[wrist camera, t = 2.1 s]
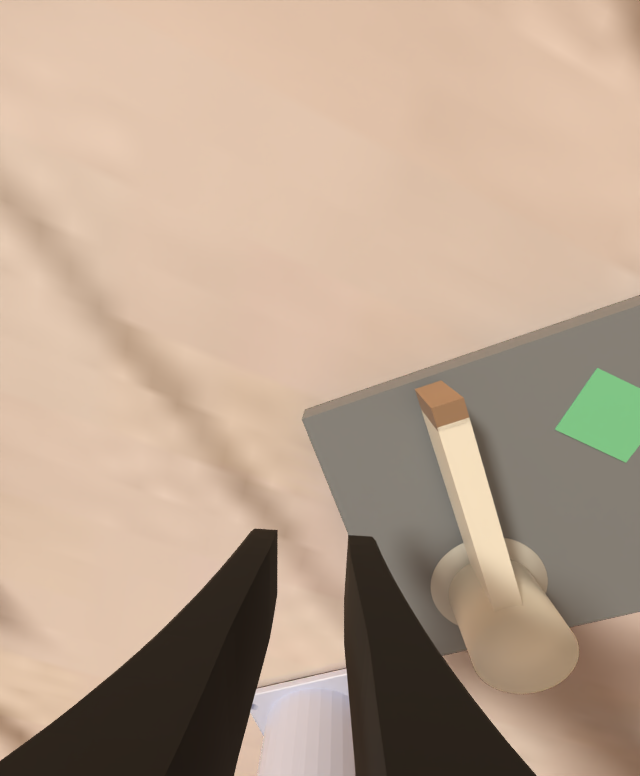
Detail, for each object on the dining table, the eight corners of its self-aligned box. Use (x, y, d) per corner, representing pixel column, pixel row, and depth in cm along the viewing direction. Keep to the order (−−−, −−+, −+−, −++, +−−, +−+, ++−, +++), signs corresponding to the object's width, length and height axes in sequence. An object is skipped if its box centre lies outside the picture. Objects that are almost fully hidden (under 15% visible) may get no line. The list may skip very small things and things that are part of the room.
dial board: (752, 557, 18) (789, 580, 17) (396, 640, 21) (401, 666, 20) (724, 266, 15) (767, 262, 13) (304, 409, 18) (301, 419, 16)
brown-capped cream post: (544, 615, 18) (587, 682, 15) (460, 634, 18) (485, 702, 15) (477, 368, 15) (514, 385, 12) (380, 400, 15) (390, 425, 12)
